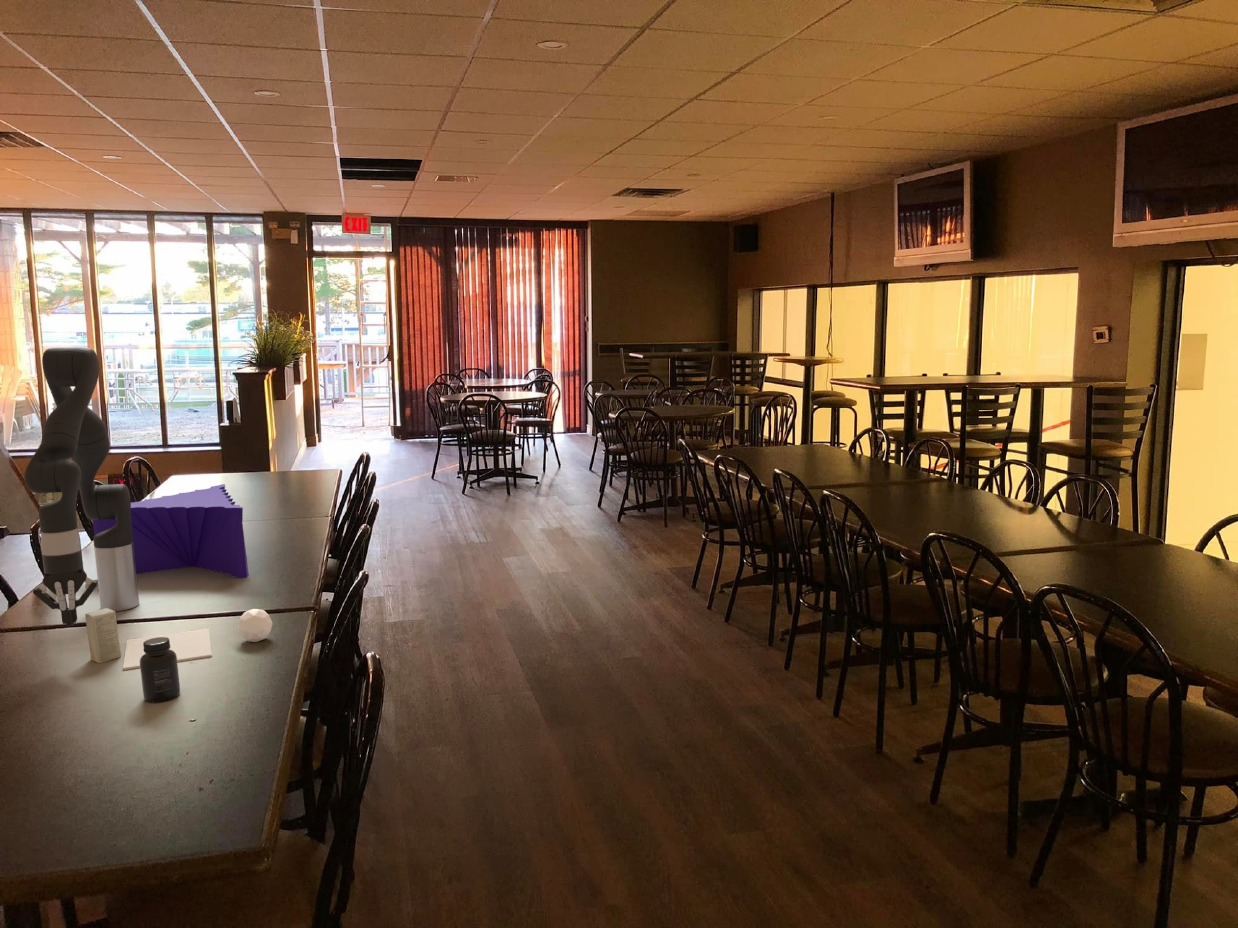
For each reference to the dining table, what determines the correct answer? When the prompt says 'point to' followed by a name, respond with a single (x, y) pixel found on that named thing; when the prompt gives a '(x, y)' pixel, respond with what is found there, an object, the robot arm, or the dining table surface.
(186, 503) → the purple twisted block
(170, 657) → the supplement bottle
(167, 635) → the mat
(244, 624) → the geometric ball
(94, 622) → the box
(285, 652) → the dining table surface
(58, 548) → the robot arm
